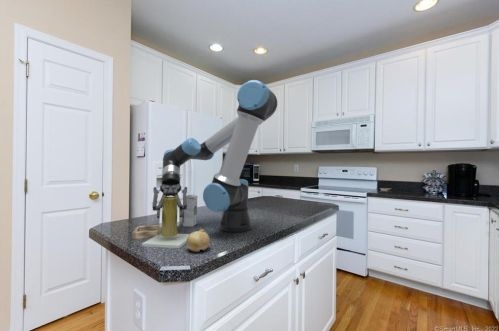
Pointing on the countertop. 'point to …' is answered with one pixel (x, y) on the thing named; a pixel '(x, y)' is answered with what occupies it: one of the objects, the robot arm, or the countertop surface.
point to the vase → (169, 217)
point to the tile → (167, 241)
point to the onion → (198, 241)
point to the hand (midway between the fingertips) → (169, 224)
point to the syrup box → (190, 212)
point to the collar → (146, 231)
